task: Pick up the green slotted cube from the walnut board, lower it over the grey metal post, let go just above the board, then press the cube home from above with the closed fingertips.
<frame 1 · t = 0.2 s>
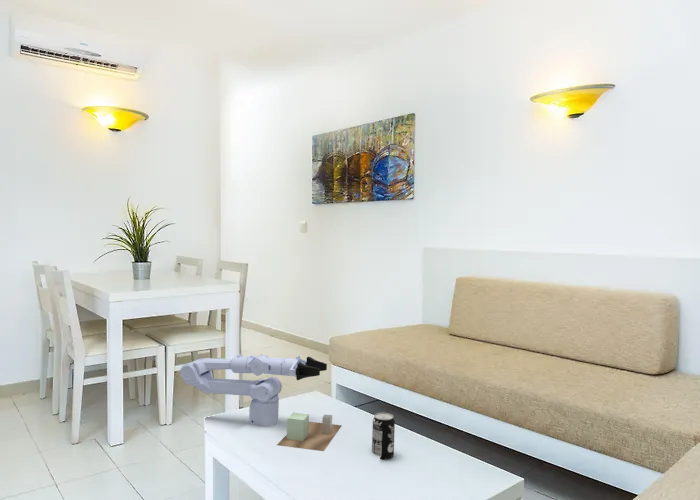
hand: (323, 369, 171), 21 cm above the table, tool horizontal, fingers open, 7 cm apart
post: (327, 432, 168), resting on board
green slotted cube: (297, 436, 164), point 1 cm above the table, touching board
board: (310, 438, 166), on the table
beverage can: (382, 456, 155), on the table
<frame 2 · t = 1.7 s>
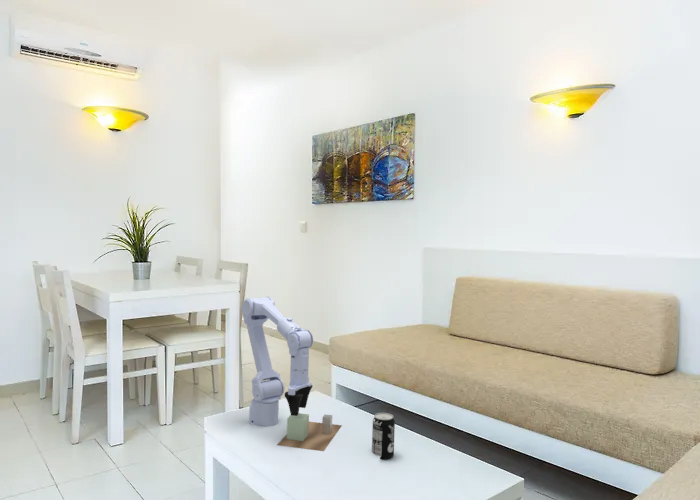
hand: (298, 411, 164), 9 cm above the table, tool pointing down, fingers open, 7 cm apart
nothing on the table moved.
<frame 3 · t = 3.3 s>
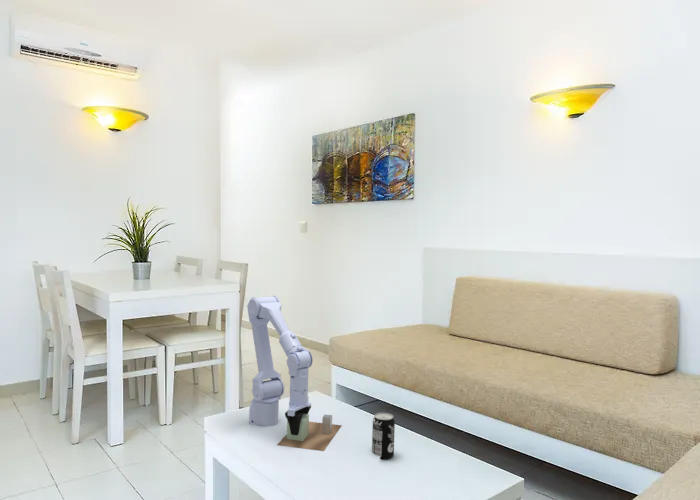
hand: (297, 431, 164), 3 cm above the table, tool pointing down, fingers closed on green slotted cube, 5 cm apart
green slotted cube: (297, 436, 164), point 1 cm above the table, touching board, gripper
everything else where it was.
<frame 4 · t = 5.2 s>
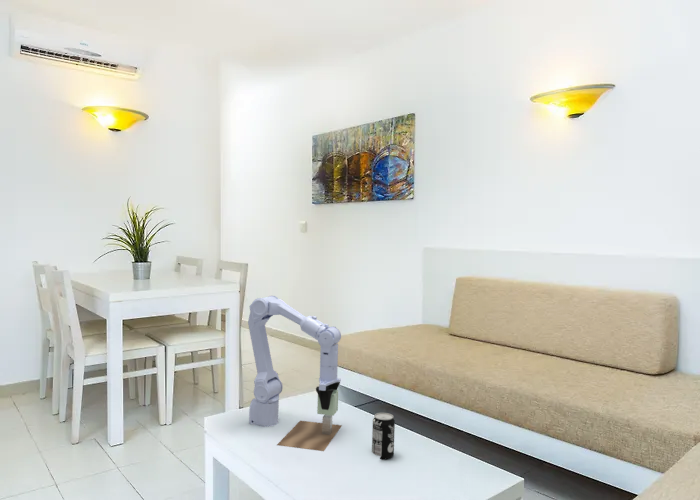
hand: (327, 406, 168), 10 cm above the table, tool pointing down, fingers closed on green slotted cube, 5 cm apart
green slotted cube: (327, 412, 168), point 8 cm above the table, touching gripper
everything else where it was.
when the fingers open (4 cm above the table, at t = 7.5 s): green slotted cube drops 1 cm, resting on board.
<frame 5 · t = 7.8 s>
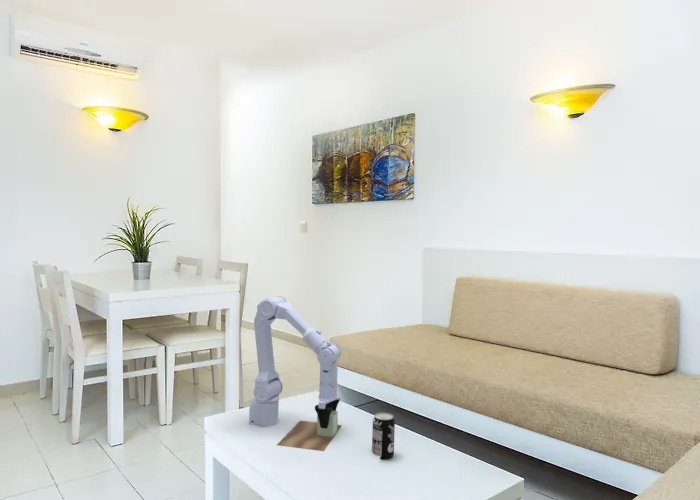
hand: (327, 423, 168), 4 cm above the table, tool pointing down, fingers open, 7 cm apart
green slotted cube: (327, 432, 168), point 1 cm above the table, touching board
everything else where it was.
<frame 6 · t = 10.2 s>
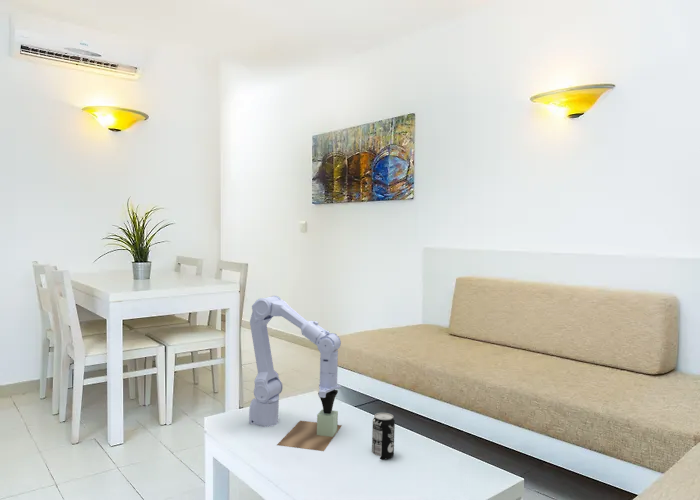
hand: (327, 413, 168), 8 cm above the table, tool pointing down, fingers closed, pressing on green slotted cube
green slotted cube: (327, 432, 168), point 1 cm above the table, touching board, gripper
everything else where it was.
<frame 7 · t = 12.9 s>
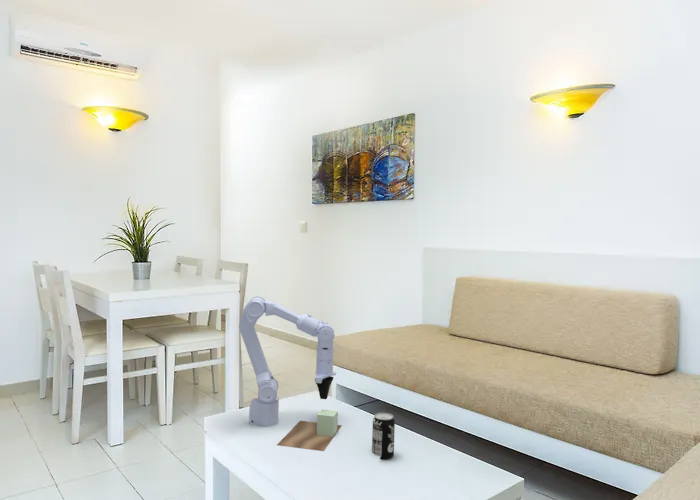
hand: (323, 398, 178), 9 cm above the table, tool pointing down, fingers closed
green slotted cube: (327, 432, 168), point 1 cm above the table, touching board
everything else where it was.
at the end: green slotted cube 0.0 cm from the post (horizontally); green slotted cube point 1.2 cm above the table; the gripper is holding nothing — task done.
